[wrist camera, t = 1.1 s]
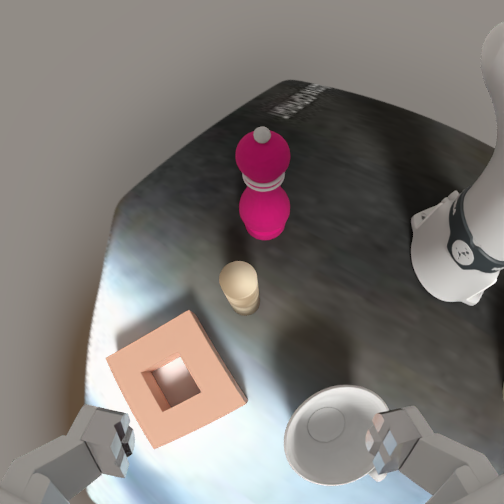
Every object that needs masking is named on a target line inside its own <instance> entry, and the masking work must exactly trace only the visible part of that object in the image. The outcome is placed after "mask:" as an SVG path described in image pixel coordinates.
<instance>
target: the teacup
mask: <svg viewBox="0 0 504 504" xmlns="http://www.w3.org/2000/svg"><path fill="white" fill-rule="evenodd" d="M385 411H389V409H388V407H387V405H386V403H385V402H384V401H383V400H382V399H381V398H380V397H379V396H378V395H377V394H375V393H374V392H372V391H371V390H368V389H366V388H363V387H360V386H355V385H337V386H332V387H329V388H326V389H323V390H321V391H319V392H317V393H315V394H314V395H312V396H310V397H309V398H308V399H306V400H305V401H304V402H303V403H302V404H301V405H300V406H299V407H298V408H297V409H296V411H295V412H294V413H293V415H292V416H291V418H290V420H289V422H288V424H287V427H286V430H285V435H284V450H285V454H286V458H287V460H288V462H289V464H290V466H291V467H292V469H293V470H294V471H295V472H296V473H297V474H298V475H299V476H301V477H302V478H304V479H305V480H307V481H309V482H312V483H315V484H319V485H325V486H337V485H343V484H348V483H351V482H353V481H356V480H358V479H360V478H362V477H363V476H365V475H366V474H369V475H370V476H371V477H372V478H373V479H374V480H376V481H377V482H380V481H382V480H383V479H384V478H385V477H386V475H387V473H384V474H380V475H378V473H377V471H376V468H375V466H374V464H373V462H372V461H373V459H374V456H373V455H372V454H370V453H369V452H368V450H367V447H366V442H365V441H366V434H367V431H368V429H369V428H370V427H371V426H372V425H374V424H373V422H372V420H373V417H374V415H375V414H377V413H380V412H385Z"/></svg>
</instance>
